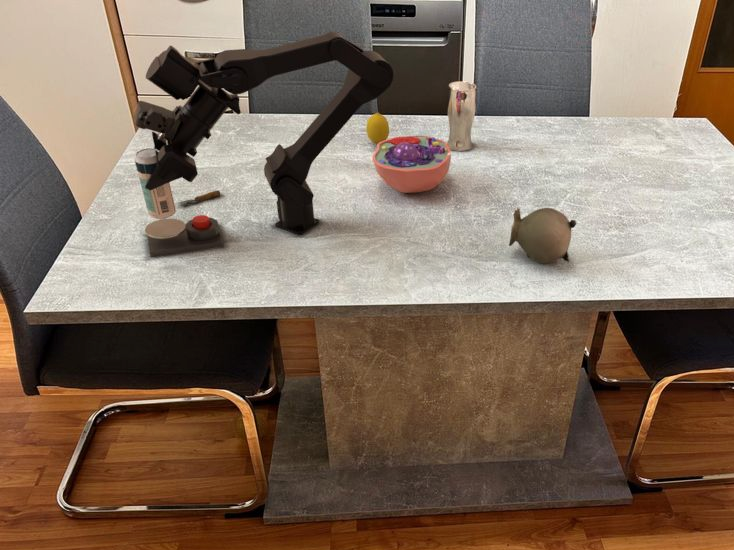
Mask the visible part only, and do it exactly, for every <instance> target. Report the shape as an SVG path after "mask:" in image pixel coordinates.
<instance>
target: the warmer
mask: <svg viewBox="0 0 734 550" xmlns="http://www.w3.org/2000/svg"><path fill="white" fill-rule="evenodd" d="M209 221H210V227H208V228H206V229H195V228H194V225H193V218H192V219H190V220H188V221H187V222H186V223H185V225H186V229H185V231H184V232H183V233H181V234H180V235H178V236H175V237H171V238H165V239H158V238H152V237H150V236H148V235H147V234H146V237H147V243H148V252H149V256H150V258H154V257H156V258H157V257H162V256H169V255H170V256H171V255H175V254H183V253H190V252H197V251H204V250H211V249H219V248H224V241H223V238H222V233H221V231H220V230H221V229H220V225H219V221H218V220H217V219H216V218H214V217H209Z"/></svg>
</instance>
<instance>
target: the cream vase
mask: <svg viewBox="0 0 734 550" xmlns="http://www.w3.org/2000/svg"><path fill="white" fill-rule="evenodd" d="M446 107H447V119H448V126H449V127H448V128H449V135H448V140H447V144H448V146H449V148H450V149H451V151H457V152H464V151H469V150H470V149H472V148H473V143H472V128H473V124H474V120H475V116H476V110H477V85H476V84H475V83H474V82H469V81H465V80H464V81H462V80H461V81H452V82H450V83H449V84H448V92H447V103H446Z"/></svg>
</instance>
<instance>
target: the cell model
mask: <svg viewBox="0 0 734 550" xmlns="http://www.w3.org/2000/svg"><path fill="white" fill-rule="evenodd" d="M451 160H452V149H450V148H449V146H448V142H446V141H445V140H443V139H440V138H437V137H434V136H428V135H409V136H406V135H404V136H394V137H391V138H387V139H386V140H384V141H381V142H379V143H378V144H376V150H375V152H374V153H373V154H372V161H373V164H374V169H375V171H376V174H377V175H378V176H379V177H380V178H381V180H382V181H384V183H385V184H386V185H387V186H388V187H390V188H391V189H393V190H395V191H397V192H400V193H402V194H403V193H404V194H413V193H414V194H415V193H422V192H429V191H431V190H434V189H435V188H436V187H438V186H439V185H440V184H441V183H442V182H443V181H444V180H445V179H446V177H447V175H448V173H449V170H450V166H451Z"/></svg>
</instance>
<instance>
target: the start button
mask: <svg viewBox="0 0 734 550" xmlns="http://www.w3.org/2000/svg"><path fill="white" fill-rule="evenodd" d="M209 218H210V217H209V216H208V215H203V214H200V215H195V216H193V218H192V219H193V225H194V228H195V229H206V228H208V227H210V221H209Z"/></svg>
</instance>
